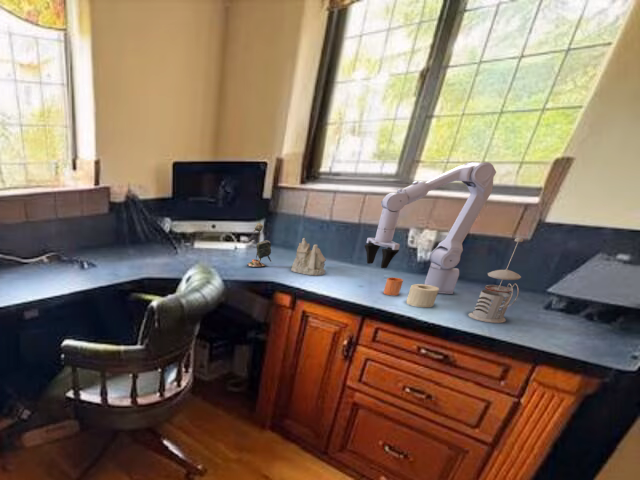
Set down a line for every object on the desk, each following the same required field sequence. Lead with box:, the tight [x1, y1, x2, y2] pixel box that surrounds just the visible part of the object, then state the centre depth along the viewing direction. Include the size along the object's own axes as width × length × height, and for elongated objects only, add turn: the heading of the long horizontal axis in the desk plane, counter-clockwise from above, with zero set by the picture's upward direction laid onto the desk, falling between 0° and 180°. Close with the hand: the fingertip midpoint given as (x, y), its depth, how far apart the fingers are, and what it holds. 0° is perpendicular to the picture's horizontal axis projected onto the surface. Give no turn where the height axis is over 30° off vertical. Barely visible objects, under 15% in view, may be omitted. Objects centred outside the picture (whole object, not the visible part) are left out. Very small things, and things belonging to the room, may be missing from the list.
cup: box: [383, 277, 404, 296], centre depth 159 cm, size 5×5×6 cm
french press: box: [467, 236, 524, 324], centre depth 129 cm, size 10×12×25 cm
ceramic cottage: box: [290, 237, 327, 276], centre depth 190 cm, size 16×16×15 cm
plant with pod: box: [247, 222, 272, 268], centre depth 198 cm, size 8×11×20 cm
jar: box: [405, 283, 439, 308], centre depth 148 cm, size 8×8×6 cm
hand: (376, 265), depth 161 cm, fingers open, 7 cm apart
